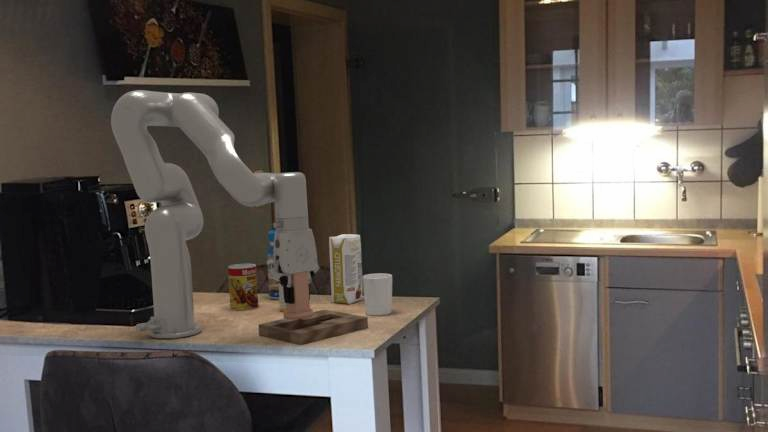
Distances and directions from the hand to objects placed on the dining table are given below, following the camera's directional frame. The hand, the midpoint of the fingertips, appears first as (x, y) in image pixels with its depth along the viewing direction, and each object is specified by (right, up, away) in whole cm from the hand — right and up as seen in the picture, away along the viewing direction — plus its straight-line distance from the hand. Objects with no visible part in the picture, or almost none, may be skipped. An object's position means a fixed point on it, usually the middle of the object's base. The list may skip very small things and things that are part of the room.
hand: (297, 300), depth 195 cm
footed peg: (0, -4, 0) cm, 4 cm away
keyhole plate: (+4, -8, +4) cm, 10 cm away
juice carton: (+10, -5, +40) cm, 42 cm away
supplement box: (-5, -6, +33) cm, 34 cm away
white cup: (+19, -6, +23) cm, 30 cm away
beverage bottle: (-10, -4, +50) cm, 51 cm away
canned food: (-19, -6, +37) cm, 42 cm away
